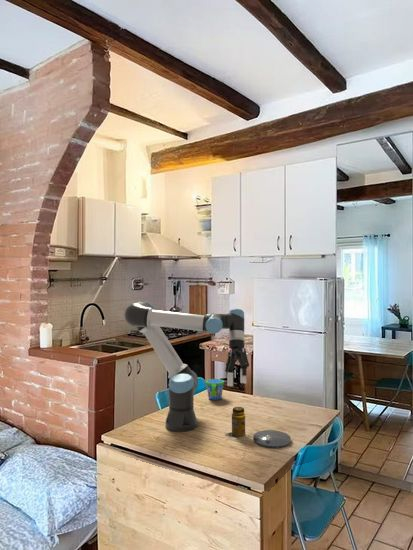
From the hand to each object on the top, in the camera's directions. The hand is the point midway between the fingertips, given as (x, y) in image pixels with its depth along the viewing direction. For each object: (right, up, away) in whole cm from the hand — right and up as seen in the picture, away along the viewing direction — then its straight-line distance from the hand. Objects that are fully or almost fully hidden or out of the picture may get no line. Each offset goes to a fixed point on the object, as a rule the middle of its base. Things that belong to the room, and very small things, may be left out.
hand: (236, 384), depth 199 cm
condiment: (-1, -20, -10) cm, 23 cm away
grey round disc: (+14, -20, -16) cm, 29 cm away
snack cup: (-9, -20, +44) cm, 49 cm away
